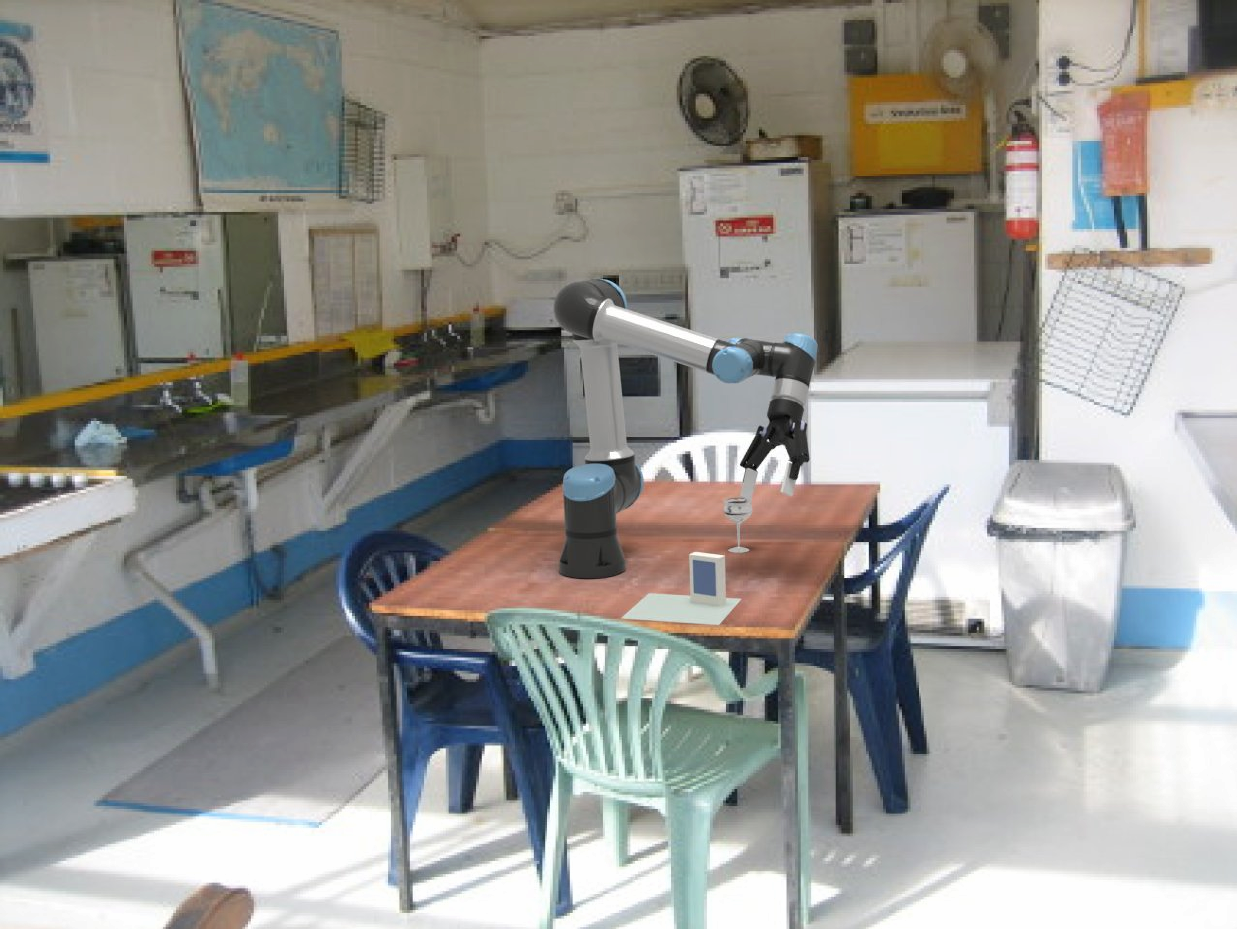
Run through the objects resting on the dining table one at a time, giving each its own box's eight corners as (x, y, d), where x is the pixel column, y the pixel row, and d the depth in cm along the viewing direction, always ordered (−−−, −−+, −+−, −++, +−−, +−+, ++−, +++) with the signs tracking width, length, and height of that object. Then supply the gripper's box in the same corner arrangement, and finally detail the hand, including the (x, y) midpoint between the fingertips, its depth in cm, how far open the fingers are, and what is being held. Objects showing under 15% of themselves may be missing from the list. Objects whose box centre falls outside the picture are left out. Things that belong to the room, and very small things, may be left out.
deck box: (719, 606, 268) (718, 558, 266) (690, 602, 272) (688, 554, 270) (726, 603, 270) (724, 555, 268) (696, 598, 274) (695, 551, 272)
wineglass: (752, 553, 310) (751, 503, 308) (723, 553, 311) (722, 503, 309) (754, 546, 317) (753, 497, 315) (725, 546, 318) (724, 497, 316)
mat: (620, 621, 262) (620, 618, 262) (649, 595, 279) (648, 593, 279) (718, 628, 256) (718, 625, 256) (741, 601, 272) (741, 598, 272)
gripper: (839, 402, 277) (818, 498, 272) (763, 416, 298) (742, 505, 293) (813, 389, 274) (790, 486, 268) (738, 404, 294) (716, 494, 289)
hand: (765, 496), depth 280 cm, fingers open, 13 cm apart
